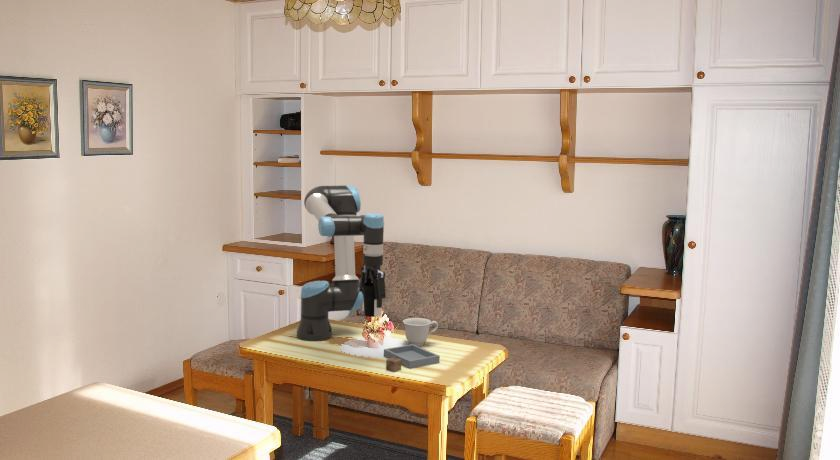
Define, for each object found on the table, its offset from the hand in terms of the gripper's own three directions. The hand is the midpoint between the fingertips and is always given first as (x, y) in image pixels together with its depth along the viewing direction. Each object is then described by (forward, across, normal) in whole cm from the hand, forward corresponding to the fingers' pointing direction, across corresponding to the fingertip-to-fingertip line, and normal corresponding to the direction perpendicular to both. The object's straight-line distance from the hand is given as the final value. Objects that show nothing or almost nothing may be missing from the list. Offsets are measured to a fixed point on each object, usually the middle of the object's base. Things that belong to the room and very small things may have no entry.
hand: (371, 313), depth 294 cm
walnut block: (+19, +13, +2) cm, 23 cm away
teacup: (+19, -9, +30) cm, 37 cm away
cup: (+1, 0, 0) cm, 1 cm away
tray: (+19, +6, +15) cm, 25 cm away
